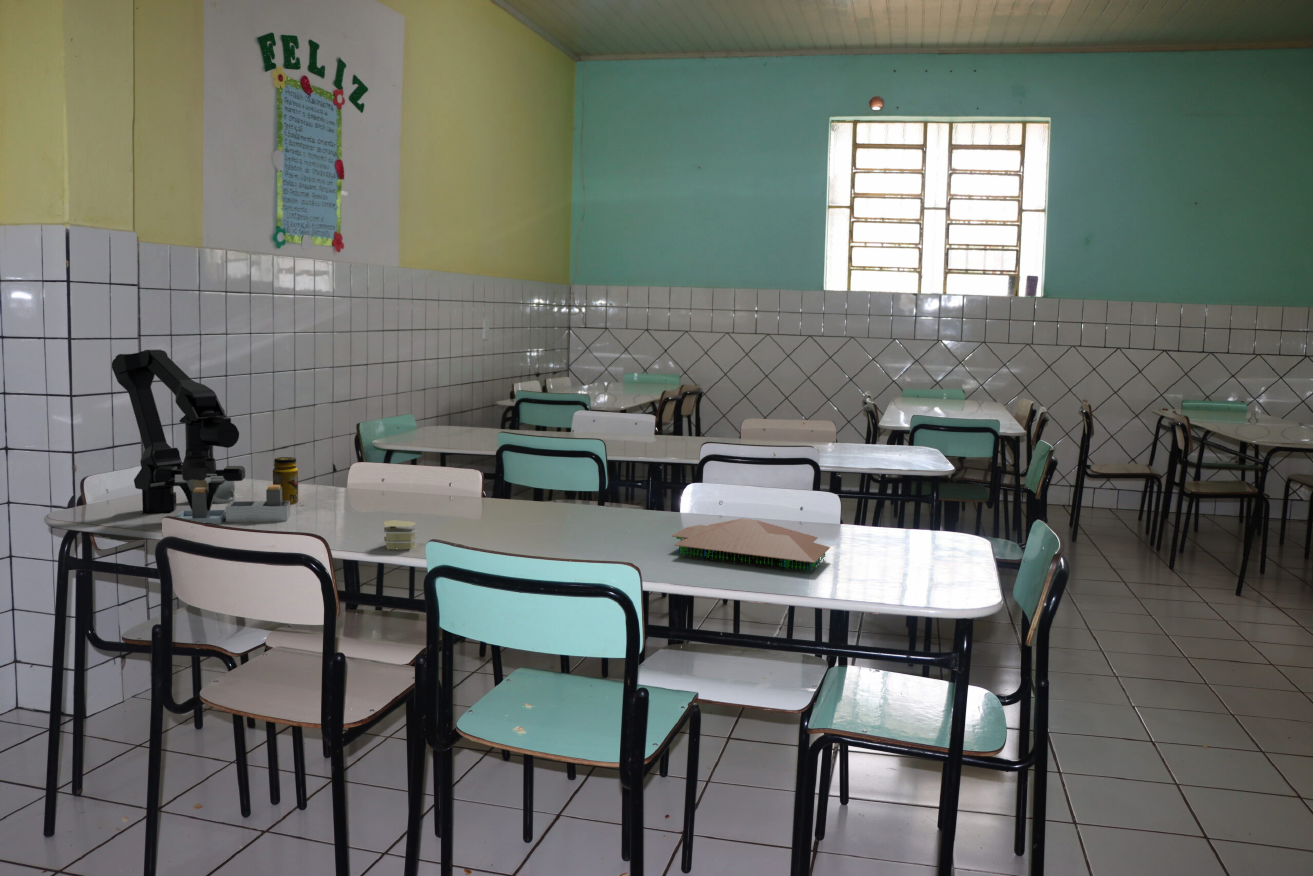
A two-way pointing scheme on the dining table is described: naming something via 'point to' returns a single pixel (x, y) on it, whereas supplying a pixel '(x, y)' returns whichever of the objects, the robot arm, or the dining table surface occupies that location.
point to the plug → (200, 503)
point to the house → (752, 541)
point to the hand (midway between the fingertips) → (201, 510)
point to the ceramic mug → (222, 493)
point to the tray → (215, 518)
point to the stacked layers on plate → (399, 534)
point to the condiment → (286, 478)
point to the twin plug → (274, 495)
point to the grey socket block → (256, 511)
